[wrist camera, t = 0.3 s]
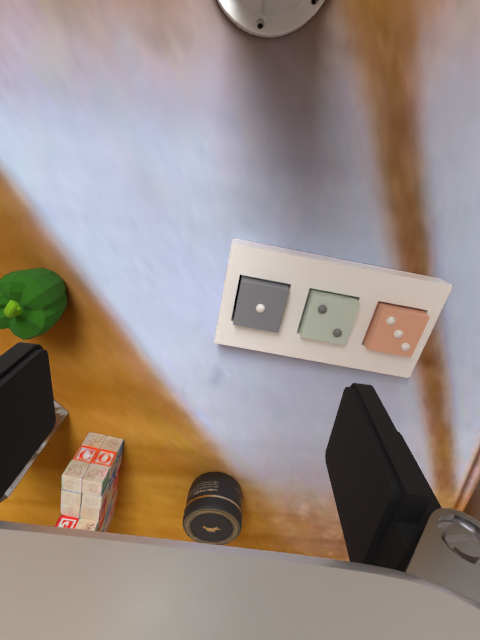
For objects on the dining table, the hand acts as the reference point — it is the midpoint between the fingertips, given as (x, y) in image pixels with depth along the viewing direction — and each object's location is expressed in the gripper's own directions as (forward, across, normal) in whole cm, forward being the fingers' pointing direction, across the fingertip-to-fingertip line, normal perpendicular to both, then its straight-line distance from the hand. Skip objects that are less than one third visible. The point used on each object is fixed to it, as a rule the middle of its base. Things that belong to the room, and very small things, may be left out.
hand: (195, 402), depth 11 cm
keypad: (+36, -13, +10) cm, 39 cm away
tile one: (+34, -4, +9) cm, 36 cm away
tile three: (+34, -22, +10) cm, 42 cm away
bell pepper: (+36, +25, +12) cm, 46 cm away
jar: (+37, -2, +48) cm, 60 cm away
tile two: (+34, -13, +10) cm, 38 cm away
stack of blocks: (+37, +20, +48) cm, 64 cm away
